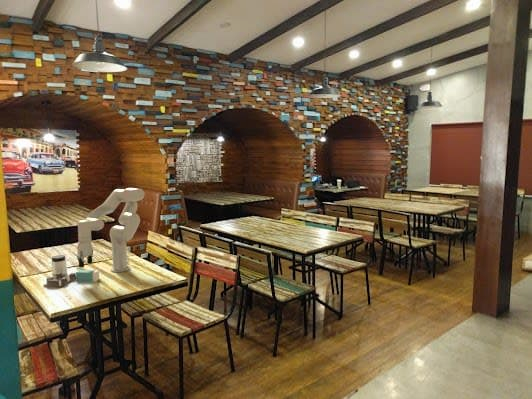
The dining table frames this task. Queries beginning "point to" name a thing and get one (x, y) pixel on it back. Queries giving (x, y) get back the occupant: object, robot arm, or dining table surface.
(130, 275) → the dining table surface
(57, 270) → the jar
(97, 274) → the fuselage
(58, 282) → the cradle
